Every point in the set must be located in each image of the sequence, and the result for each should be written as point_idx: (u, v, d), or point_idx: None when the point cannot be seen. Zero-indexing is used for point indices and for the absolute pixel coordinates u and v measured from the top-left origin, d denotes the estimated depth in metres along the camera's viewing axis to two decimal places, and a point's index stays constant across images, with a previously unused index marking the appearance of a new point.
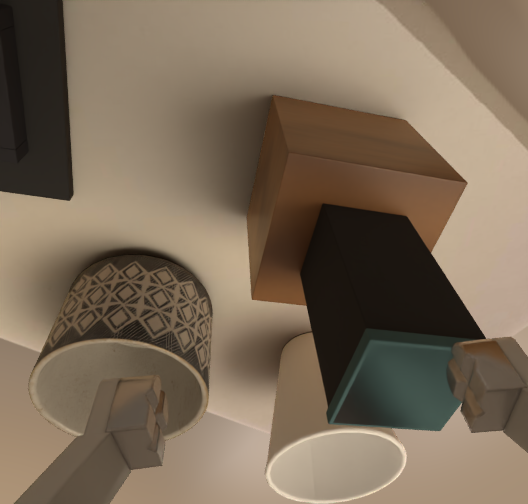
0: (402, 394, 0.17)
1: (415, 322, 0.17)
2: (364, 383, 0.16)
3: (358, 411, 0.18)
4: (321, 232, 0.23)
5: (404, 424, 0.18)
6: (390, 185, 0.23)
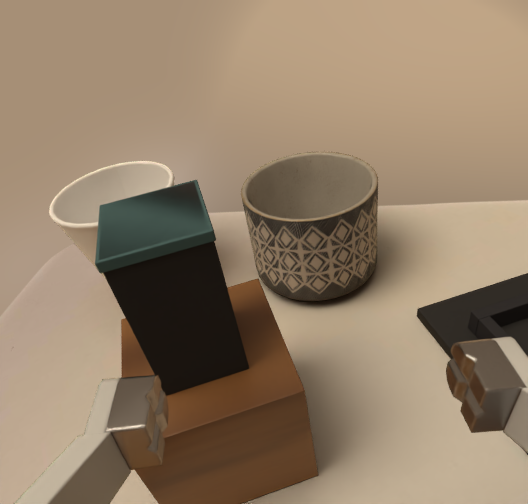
0: (154, 212, 0.21)
1: (170, 265, 0.19)
2: (192, 207, 0.20)
3: (180, 193, 0.22)
4: None
5: (135, 198, 0.22)
6: (198, 411, 0.23)
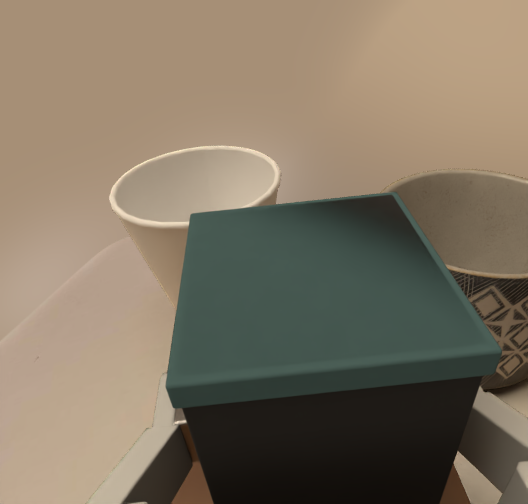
0: (315, 255, 0.09)
1: (351, 411, 0.07)
2: (411, 261, 0.08)
3: (368, 216, 0.10)
4: None
5: (266, 212, 0.10)
6: None
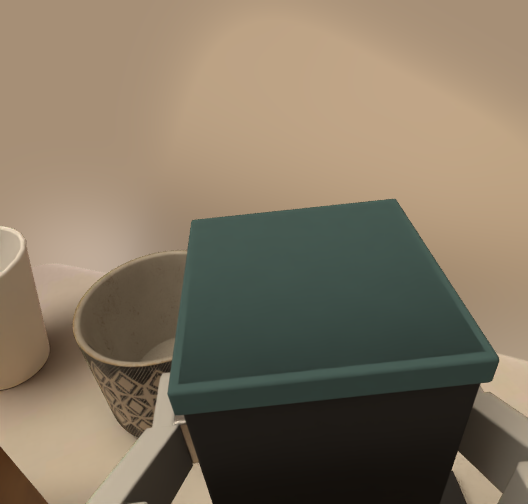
0: (315, 262, 0.09)
1: (350, 417, 0.07)
2: (409, 269, 0.09)
3: (367, 223, 0.10)
4: None
5: (266, 218, 0.10)
6: None
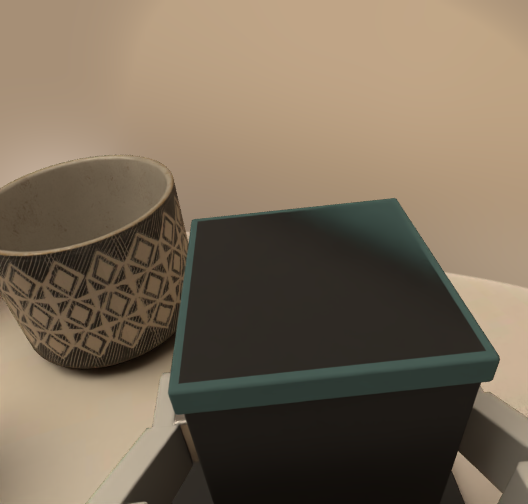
0: (315, 262, 0.09)
1: (351, 417, 0.07)
2: (410, 268, 0.09)
3: (368, 223, 0.10)
4: None
5: (266, 218, 0.10)
6: None
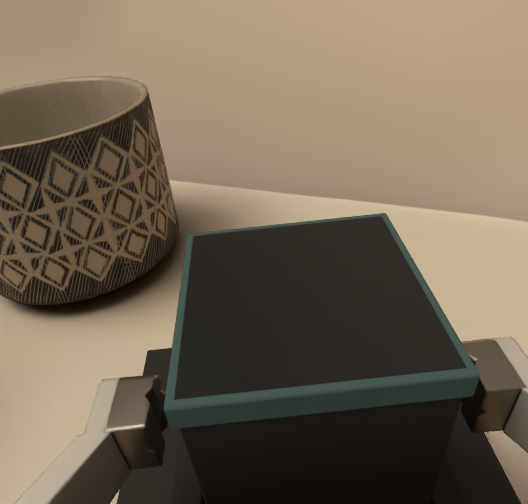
0: (306, 277, 0.09)
1: (339, 429, 0.08)
2: (397, 284, 0.09)
3: (358, 238, 0.10)
4: None
5: (260, 233, 0.11)
6: None
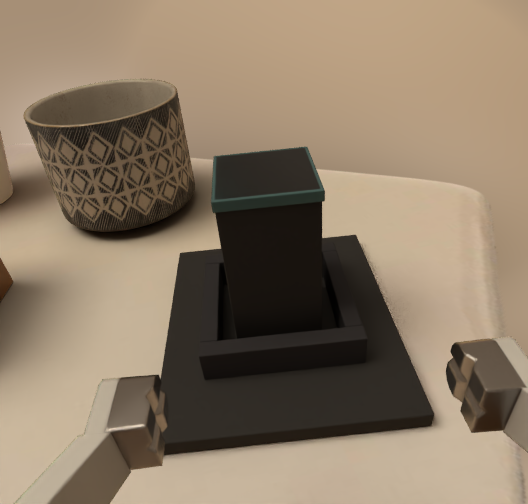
0: (266, 168, 0.22)
1: (276, 218, 0.20)
2: (303, 169, 0.21)
3: (291, 155, 0.23)
4: None
5: (248, 154, 0.23)
6: None
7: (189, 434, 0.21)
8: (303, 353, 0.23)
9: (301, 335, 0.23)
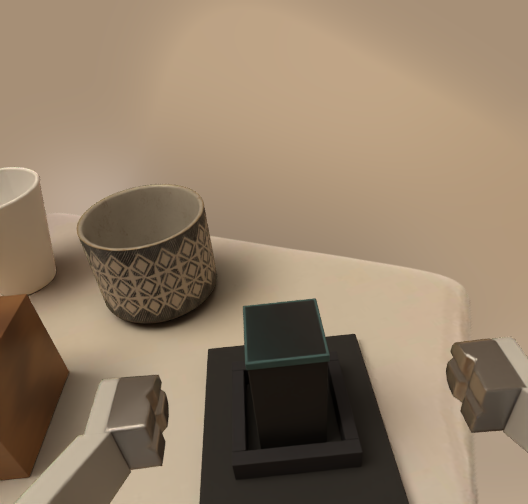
0: (285, 325, 0.28)
1: (293, 371, 0.27)
2: (313, 328, 0.28)
3: (304, 309, 0.29)
4: None
5: (269, 306, 0.30)
6: None
7: None
8: (312, 462, 0.30)
9: (311, 447, 0.30)
